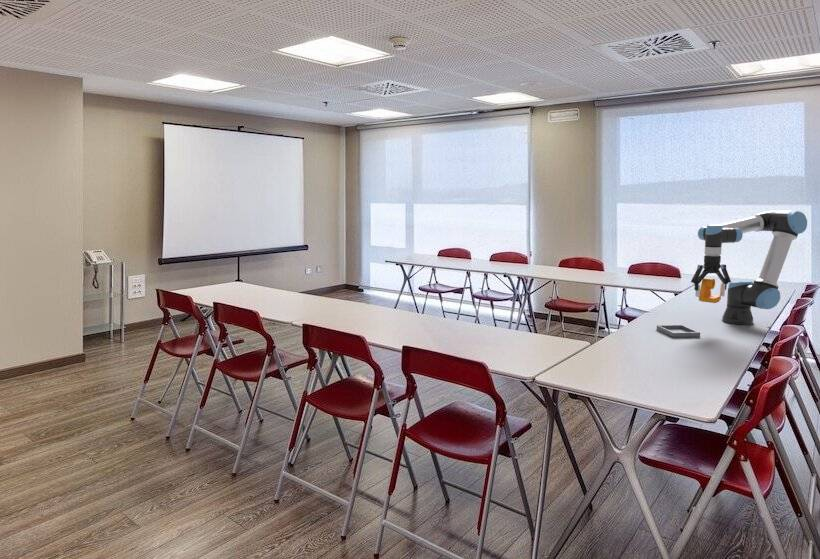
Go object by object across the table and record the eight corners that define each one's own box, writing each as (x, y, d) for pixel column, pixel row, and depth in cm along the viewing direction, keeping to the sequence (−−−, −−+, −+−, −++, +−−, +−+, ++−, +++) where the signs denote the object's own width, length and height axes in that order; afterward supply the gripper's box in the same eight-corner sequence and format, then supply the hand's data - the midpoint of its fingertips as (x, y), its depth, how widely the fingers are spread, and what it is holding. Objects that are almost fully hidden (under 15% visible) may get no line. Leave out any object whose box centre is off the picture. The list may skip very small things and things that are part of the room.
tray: (682, 329, 301) (682, 324, 301) (700, 337, 285) (700, 332, 284) (656, 329, 301) (656, 325, 300) (672, 337, 284) (673, 333, 284)
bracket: (713, 303, 288) (715, 280, 286) (698, 302, 293) (699, 279, 291) (721, 300, 295) (722, 278, 293) (706, 299, 300) (707, 276, 298)
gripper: (731, 253, 294) (728, 294, 298) (685, 254, 293) (682, 295, 296) (740, 255, 287) (737, 297, 290) (693, 256, 286) (690, 298, 289)
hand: (709, 296), depth 293 cm, fingers closed on bracket, 12 cm apart
